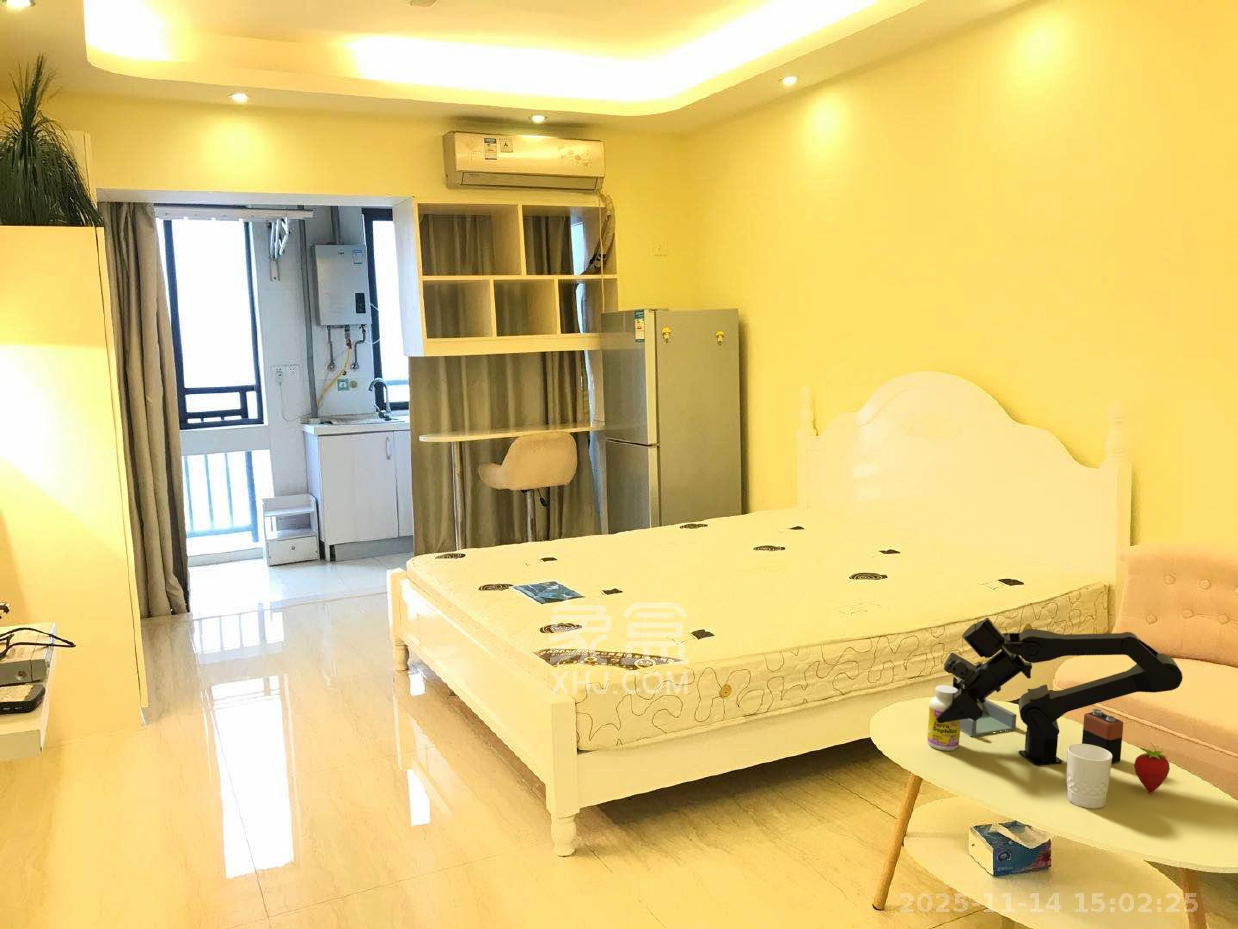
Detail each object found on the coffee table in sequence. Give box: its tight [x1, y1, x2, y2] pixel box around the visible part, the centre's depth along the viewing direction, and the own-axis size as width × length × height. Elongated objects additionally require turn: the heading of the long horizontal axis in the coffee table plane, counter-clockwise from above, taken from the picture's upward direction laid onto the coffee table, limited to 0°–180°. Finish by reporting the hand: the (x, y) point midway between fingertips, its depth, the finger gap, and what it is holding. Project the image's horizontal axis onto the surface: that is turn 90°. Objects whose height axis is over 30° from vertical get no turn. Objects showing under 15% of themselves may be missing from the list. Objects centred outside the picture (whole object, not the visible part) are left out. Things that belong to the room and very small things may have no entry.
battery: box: [1081, 708, 1124, 765], centre depth 217 cm, size 4×7×10 cm, turn 24°
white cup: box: [1066, 743, 1112, 810], centre depth 198 cm, size 8×8×10 cm
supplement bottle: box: [926, 684, 961, 751], centre depth 222 cm, size 7×7×13 cm
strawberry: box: [1133, 742, 1171, 794], centre depth 202 cm, size 6×8×10 cm
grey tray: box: [960, 699, 1017, 737], centre depth 235 cm, size 11×12×4 cm
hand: (938, 715), depth 223 cm, fingers closed on supplement bottle, 7 cm apart
